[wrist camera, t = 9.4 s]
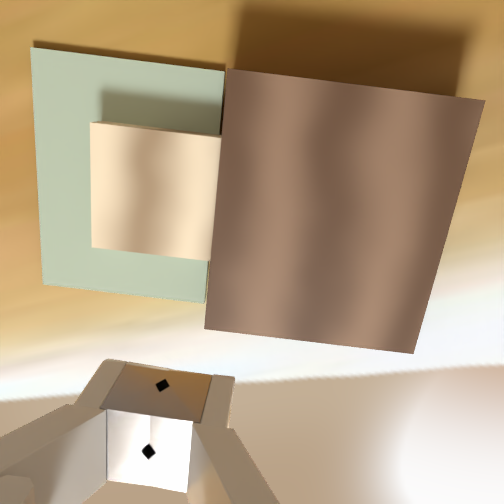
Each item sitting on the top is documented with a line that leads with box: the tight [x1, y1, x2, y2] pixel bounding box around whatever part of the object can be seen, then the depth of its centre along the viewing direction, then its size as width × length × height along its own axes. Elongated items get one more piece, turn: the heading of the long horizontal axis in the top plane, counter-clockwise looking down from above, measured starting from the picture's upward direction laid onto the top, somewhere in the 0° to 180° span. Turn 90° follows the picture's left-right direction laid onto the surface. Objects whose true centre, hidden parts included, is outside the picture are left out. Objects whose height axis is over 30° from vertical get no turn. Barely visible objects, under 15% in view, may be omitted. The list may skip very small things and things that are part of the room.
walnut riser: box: [204, 68, 485, 354], centre depth 28 cm, size 14×16×4 cm
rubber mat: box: [30, 47, 225, 304], centre depth 29 cm, size 12×16×1 cm
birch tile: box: [90, 121, 222, 261], centre depth 28 cm, size 8×8×2 cm
